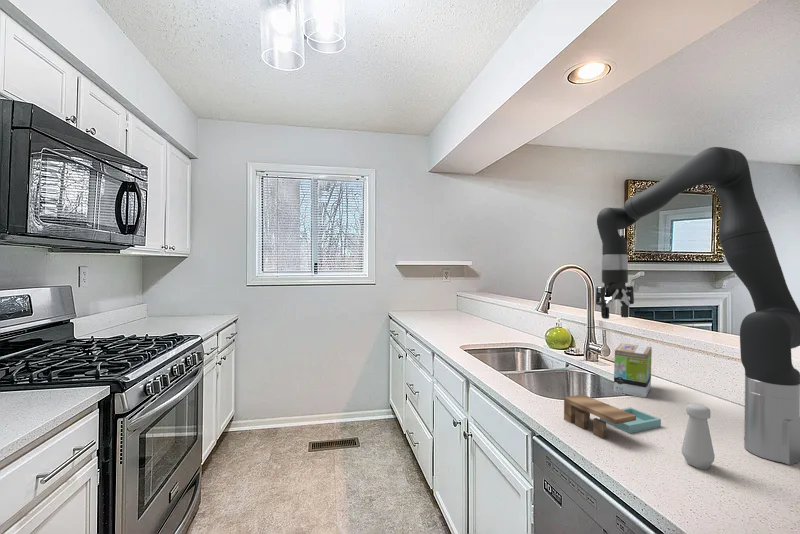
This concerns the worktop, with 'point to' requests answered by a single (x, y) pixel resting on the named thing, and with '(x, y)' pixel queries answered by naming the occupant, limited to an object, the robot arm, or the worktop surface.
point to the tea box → (632, 369)
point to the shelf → (583, 405)
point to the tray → (637, 422)
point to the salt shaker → (698, 437)
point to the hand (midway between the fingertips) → (615, 317)
